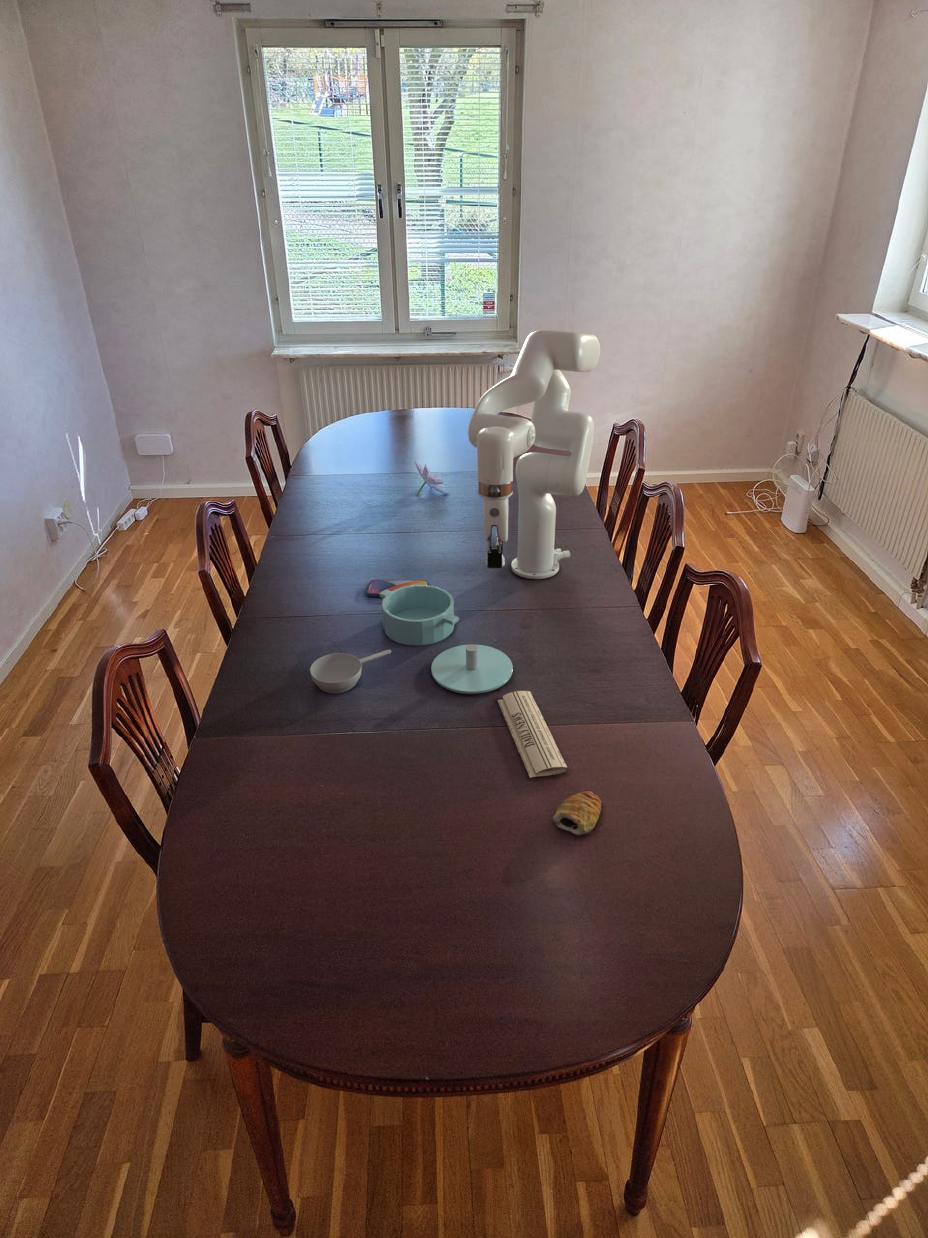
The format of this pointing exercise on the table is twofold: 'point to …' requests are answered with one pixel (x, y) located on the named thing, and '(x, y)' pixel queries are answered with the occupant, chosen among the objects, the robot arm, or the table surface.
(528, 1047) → the table surface
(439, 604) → the pot
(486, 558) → the rook chess piece
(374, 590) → the smartphone
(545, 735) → the newspaper
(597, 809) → the pastry
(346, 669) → the saucepan
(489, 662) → the lid
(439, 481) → the water lily
